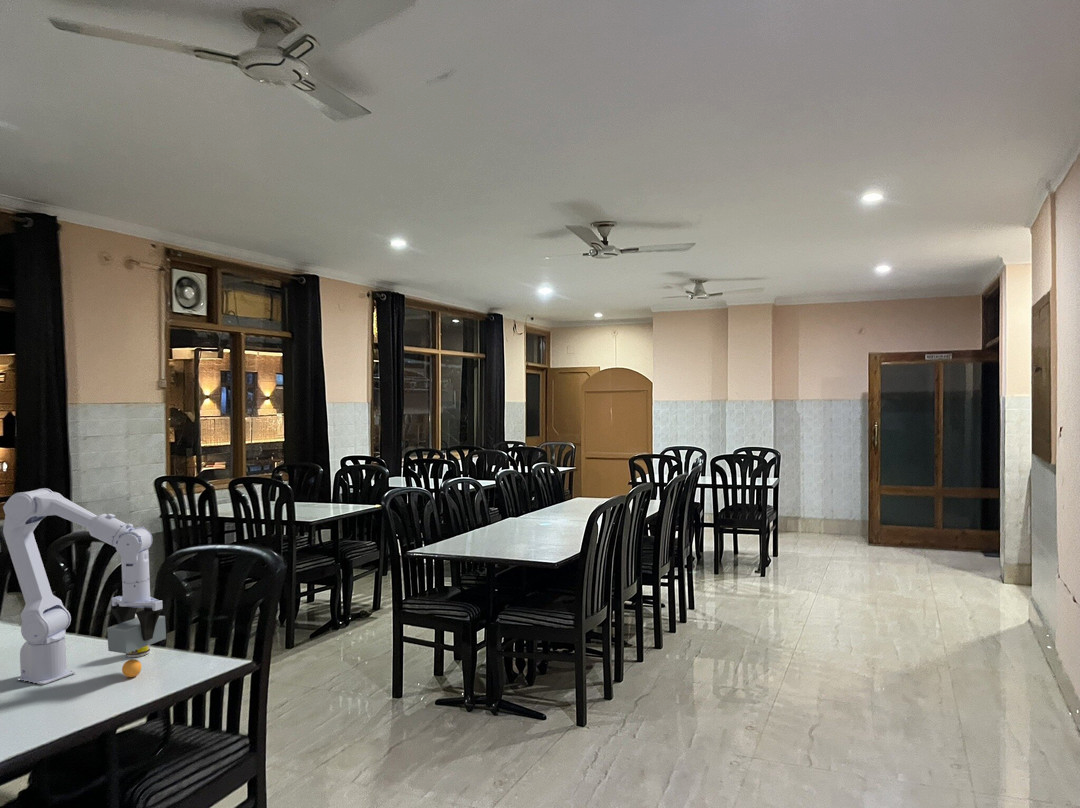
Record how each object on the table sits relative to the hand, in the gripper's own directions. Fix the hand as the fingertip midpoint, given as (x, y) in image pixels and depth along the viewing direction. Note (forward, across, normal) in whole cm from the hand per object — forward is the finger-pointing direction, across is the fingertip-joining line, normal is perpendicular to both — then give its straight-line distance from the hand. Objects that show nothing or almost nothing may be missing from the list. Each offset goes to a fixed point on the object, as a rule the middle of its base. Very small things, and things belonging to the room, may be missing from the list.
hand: (138, 638), depth 181 cm
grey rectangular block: (+2, 0, 0) cm, 2 cm away
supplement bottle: (+9, -13, +10) cm, 19 cm away
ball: (+6, 0, -2) cm, 7 cm away
